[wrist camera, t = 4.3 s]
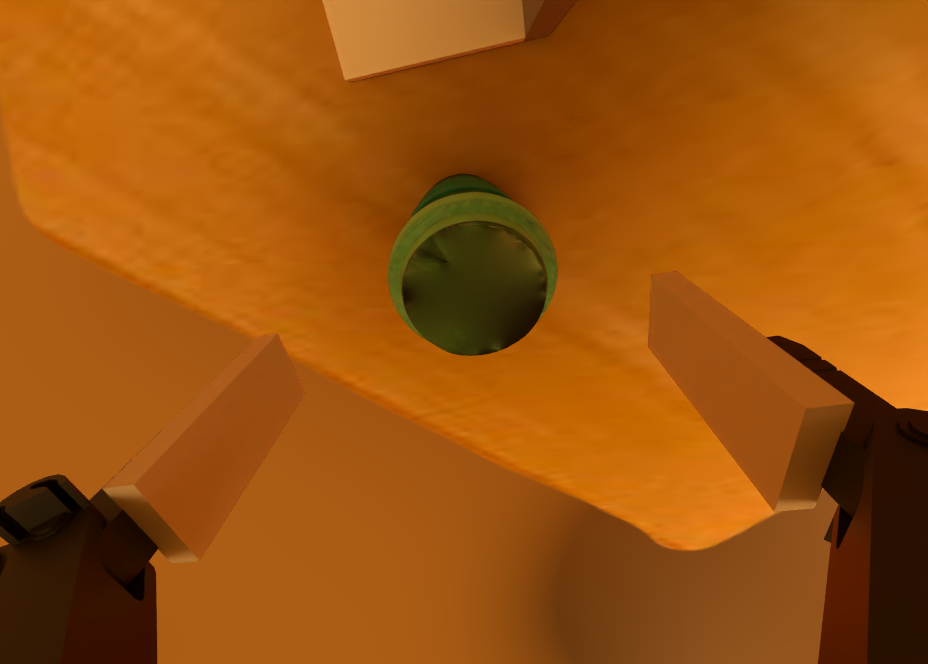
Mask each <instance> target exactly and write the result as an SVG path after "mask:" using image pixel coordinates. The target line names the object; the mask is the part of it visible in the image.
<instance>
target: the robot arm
mask: <svg viewBox="0 0 928 664" xmlns="http://www.w3.org/2000/svg"><path fill="white" fill-rule="evenodd" d="M648 347H649V349H650V350H651V351H652V353H653V354H654V355H655V356H656V358H657V359H658V360H659V362H660V363H661V364H662V366H663V367H664V368H665V369H666V371H667V372H668V373H669V375H670V376H671V377H672V379H673V380H674V381H675V383H676V384H677V385H678V386H679V388H680V389H681V390H682V392H683V393H684V394H685V396H686V397H687V398H688V400H689V401H690V402H691V403H692V405H693V406H694V407H695V409H696V410H697V411H698V413H699V414H700V415H701V417H702V418H703V419H704V420H705V422H706V423H707V424H708V426H709V427H710V428H711V430H712V431H713V432H714V434H715V435H716V436H717V437H718V439H719V440H720V441H721V443H722V444H723V445H724V447H725V448H726V449H727V451H728V452H729V453H730V454H731V456H732V457H733V458H734V460H735V461H736V462H737V464H738V465H739V466H740V468H741V469H742V470H743V471H744V473H745V474H746V475H747V477H748V478H749V479H750V481H751V482H752V483H753V484H754V486H755V487H756V488H757V490H758V491H759V492H760V494H761V495H762V496H763V498H764V499H765V500H766V501H767V503H768V504H769V505H770V507H771V508H772V509H773V511H774V512H776V511H786V510H799V509H811V508H815V506H816V503H817V501H818V498H819V495H820V493H821V490H822V488H824V490H825V491H826V492H827V493H828V494H829V495H830V496H831V497H832V498H833V499H834V500H835V501H836V502H837V503H838V504H839V505H838V507H837V510H836V512H835V514H834V517H833V519H832V522H831V524H830V526H829V529H828V531H827V533H826V536H825V538H824V540H826V541H828V542H831V548H830V557H829V568H828V576H827V585H826V594H825V604H824V614H823V623H822V632H821V641H820V650H819V660H818V664H928V411H923V410H916V409H909V408H901V409H897V408H895V407H894V406H892V405H891V404H889V403H888V402H886V401H885V400H883V399H882V398H880V397H879V396H877V395H876V394H874V393H873V392H872V391H870V390H869V389H867V388H866V387H864V386H863V385H861V384H860V383H858V382H857V381H855V380H854V379H852V378H851V377H849V376H848V375H847V374H845V373H844V372H842V371H841V370H840V371H837V368H836V367H835V366H833V365H832V364H830V363H829V362H827V361H826V360H822V359H821V357H820V356H819V355H817V354H816V353H814V352H813V351H811V350H810V349H808V348H807V347H805V346H804V345H802V344H799V343H797V342H794V341H791V340H789V339H786V338H784V337H781V336H772V337H765V336H764V335H762V334H761V333H759V332H758V331H757V330H755V329H754V328H753V327H751V326H750V325H749V324H747V323H746V322H745V321H743V320H742V319H741V318H739V317H738V316H736V315H735V314H734V313H732V312H731V311H730V310H728V309H727V308H726V307H724V306H723V305H722V304H720V303H719V302H718V301H716V300H715V299H714V298H712V297H711V296H709V295H708V294H707V293H705V292H704V291H703V290H701V289H700V288H699V287H697V286H696V285H695V284H693V283H692V282H691V281H689V280H688V279H687V278H685V277H684V276H682V275H681V274H680V273H678V272H677V271H672V272H665V273H659V274H653V275H651V294H650V314H649V334H648ZM305 394H306V392H305V390H304V388H303V386H302V384H301V382H300V379H299V378H298V375H297V373H296V371H295V369H294V367H293V365H292V363H291V361H290V359H289V356H288V354H287V352H286V350H285V348H284V346H283V344H282V342H281V340H280V338H279V335H278V334H271V335H265V336H259V337H257V338H256V339H255V340H254V341H253V342H252V343H251V344H250V345H249V346H248V347H247V348H246V349H245V350H244V351H243V352H242V353H241V354H240V355H239V356H238V357H237V358H236V359H235V360H234V361H233V362H232V363H231V364H230V365H229V366H227V367H226V369H224V370H223V371H222V372H221V373H220V374H219V375H218V376H217V377H216V378H215V379H214V380H213V381H212V382H211V383H210V384H209V385H208V386H207V387H206V388H205V389H204V390H203V391H202V392H201V393H200V394H199V395H198V396H197V397H196V398H195V399H194V400H193V401H192V402H191V403H190V404H188V405H187V406H186V407H185V408H184V409H183V410H182V411H181V412H180V413H179V414H178V415H177V416H176V417H175V418H174V419H173V420H172V421H171V422H170V423H169V424H168V425H167V426H166V427H165V428H164V429H163V430H161V431H160V432H159V433H158V434H157V435H156V436H155V437H154V438H153V439H152V440H151V441H150V442H149V443H148V444H147V445H146V446H145V447H144V448H143V449H142V450H141V451H140V452H139V453H138V454H137V455H136V456H135V457H134V458H133V459H131V460H130V462H129V463H127V464H126V465H125V466H124V467H123V468H122V469H121V470H120V471H119V472H118V473H117V474H116V475H115V476H114V477H113V478H112V479H111V480H110V481H109V482H108V483H107V484H106V485H105V486H104V487H103V488H102V489H101V490H100V491H99V492H98V493H96V495H94V497H92V498H91V500H88V499H87V498H86V497H85V496H84V495H83V494H82V493H81V492H80V491H79V490H78V489H77V488H76V487H75V486H74V485H73V484H72V483H71V482H70V481H69V480H68V479H67V478H66V477H65V476H63V475H59V474H58V475H53V476H48V477H45V478H43V479H40V480H38V481H35V482H33V483H31V484H29V485H27V486H25V487H23V488H21V489H19V490H17V491H16V492H14V493H13V494H11V495H10V496H9V497H7V498H6V499H4V500H2V501H1V502H0V537H2V538H3V539H4V540H5V541H7V542H8V543H9V544H8V545H5V546H2V547H0V664H157V609H156V572H155V569H154V567H153V566H152V565H151V563H150V562H149V560H150V559H151V557H152V556H153V555H154V553H155V552H156V551H157V549H159V550H160V551H161V552H162V553H163V555H164V556H165V557H166V558H167V559H168V560H169V561H170V562H171V563H182V562H193V561H200V560H201V558H202V556H203V555H204V553H205V551H206V550H207V548H208V547H209V545H210V544H211V542H212V541H213V539H214V537H215V536H216V534H217V533H218V531H219V530H220V528H221V526H222V525H223V523H224V522H225V520H226V518H227V517H228V515H229V514H230V512H231V511H232V509H233V507H234V506H235V504H236V503H237V501H238V500H239V498H240V496H241V495H242V493H243V492H244V490H245V489H246V487H247V485H248V484H249V482H250V481H251V479H252V477H253V476H254V474H255V473H256V471H257V469H258V468H259V467H260V465H261V463H262V462H263V460H264V459H265V457H266V456H267V454H268V452H269V451H270V449H271V447H272V446H273V445H274V443H275V441H276V440H277V438H278V437H279V435H280V433H281V432H282V430H283V429H284V427H285V426H286V424H287V422H288V421H289V419H290V417H291V416H292V415H293V413H294V411H295V410H296V408H297V407H298V405H299V403H300V402H301V400H302V399H303V397H304V396H305Z"/></svg>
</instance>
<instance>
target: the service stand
mask: <svg viewBox="0 0 928 664" xmlns="http://www.w3.org/2000/svg"><path fill="white" fill-rule="evenodd" d="M322 1H323V4H324V8H325V11H326V15H327V19H328V22H329V26H330V29H331V33H332V36H333V40H334V43H335V47H336V51H337V54H338V58H339V61H340V65H341V68H342V72H343V75H344V79H345V80H346V81H349V82H354V81H358V80H362V79H366V78H371V77H375V76H379V75H383V74H388V73H392V72H396V71H400V70H404V69H409V68H413V67H417V66H421V65H426V64H430V63H434V62H438V61H443V60H447V59H451V58H455V57H460V56H464V55H468V54H472V53H477V52H481V51H485V50H489V49H494V48H498V47H502V46H506V45H511V44H515V43H519V42H523V41H528V40H532V39H536V38H540V37H545V36H549V35H550V34H551V33H552V32H553V30H554V29H555V28H556V27H557V25H558V24H559V23H560V21H561V20H562V19H563V18H564V16H565V15H566V14H567V13H568V11H569V10H570V9H571V8H572V6H573V5H574V4H575V2H576V1H577V0H322Z"/></svg>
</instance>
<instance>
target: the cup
mask: <svg viewBox="0 0 928 664" xmlns="http://www.w3.org/2000/svg"><path fill="white" fill-rule="evenodd" d="M556 282H557V258H556V254H555V250H554V247H553V244H552V241H551V239H550V236H549V234H548V232H547V231H546V229H545V227H544V226H543V225H542V223H541V222H540V221H539V220H538V218H537V217H536V216H535V215H534V214H533V213H531V212H530V211H529V210H528V209H526V208H525V207H524V206H522V205H520V204H519V203H517V202H515V201H513V200H512V199H510V198H509V197H508V196H507V195H506V194H504V193H503V192H502V191H501V190H500V189H498V188H497V187H496V186H495V185H493V184H492V183H490V182H488V181H486V180H484V179H482V178H480V177H477V176H474V175H469V174H458V175H453V176H450V177H447V178H445V179H443V180H441V181H440V182H438V183H437V184H436V185H435V186H434V187H433V188H432V189H431V190H430V191H429V192H428V193H427V194H426V195H425V196H424V197H423V199H422V200H421V202H420V203H419V205H418V207H417V208H416V209H415V210H414V212H413V214H412V216H411V218H410V220H409V221H408V222H407V223H406V224H405V225H404V227H403V228H402V230H401V231H400V233H399V234H398V236H397V238H396V240H395V242H394V245H393V247H392V250H391V254H390V259H389V266H388V285H389V291H390V295H391V298H392V301H393V303H394V306H395V308H396V310H397V311H398V313H399V315H400V316H401V318H402V319H403V320H404V322H405V323H406V324H407V325H408V326H409V327H410V328H411V329H412V330H413V331H414V332H415V333H417V334H418V335H419V336H421V337H422V338H424V339H426V340H427V341H429V342H431V343H433V344H434V345H436V346H438V347H439V348H441V349H443V350H445V351H447V352H450V353H452V354H457V355H468V356H472V355H484V354H490V353H493V352H497V351H499V350H502V349H505V348H507V347H509V346H511V345H512V344H514V343H516V342H517V341H519V340H520V339H521V338H523V337H524V336H526V334H528V333H529V332H530V330H531V329H532V328H533V327H534V325H535V324H536V322H537V321H538V320H539V319H540V318H541V316H542V315H543V314H544V312H545V311H546V309H547V307H548V306H549V304H550V301H551V299H552V297H553V294H554V291H555V287H556Z"/></svg>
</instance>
